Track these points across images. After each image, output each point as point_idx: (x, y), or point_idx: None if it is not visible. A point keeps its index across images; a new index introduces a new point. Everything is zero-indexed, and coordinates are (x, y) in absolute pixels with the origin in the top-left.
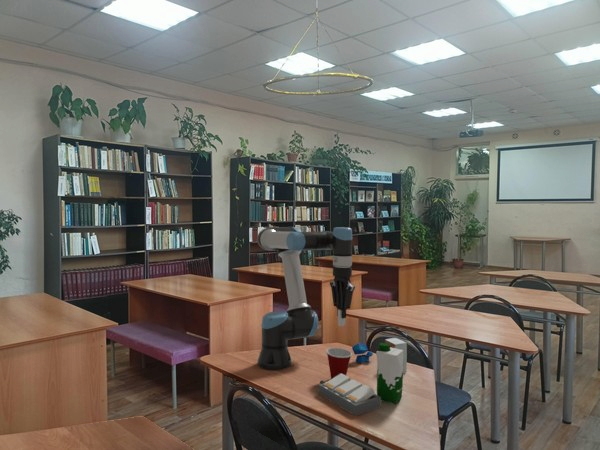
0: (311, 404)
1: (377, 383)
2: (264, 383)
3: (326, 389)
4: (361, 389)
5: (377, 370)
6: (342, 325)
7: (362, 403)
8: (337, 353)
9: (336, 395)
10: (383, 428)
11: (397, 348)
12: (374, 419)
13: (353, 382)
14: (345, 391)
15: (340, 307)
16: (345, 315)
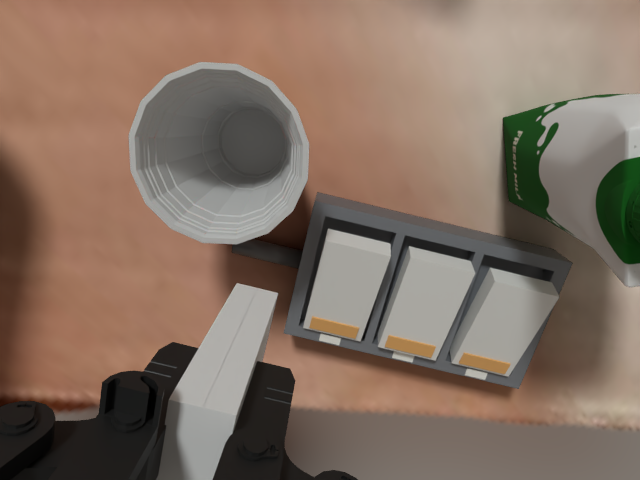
0: (329, 395)
1: (532, 208)
2: (72, 377)
3: (338, 345)
4: (498, 312)
5: (559, 223)
6: (268, 332)
7: (530, 357)
8: (174, 104)
9: (403, 360)
10: (627, 377)
11: None
12: (574, 346)
13: (430, 278)
14: (434, 344)
15: (151, 473)
16: (289, 402)
